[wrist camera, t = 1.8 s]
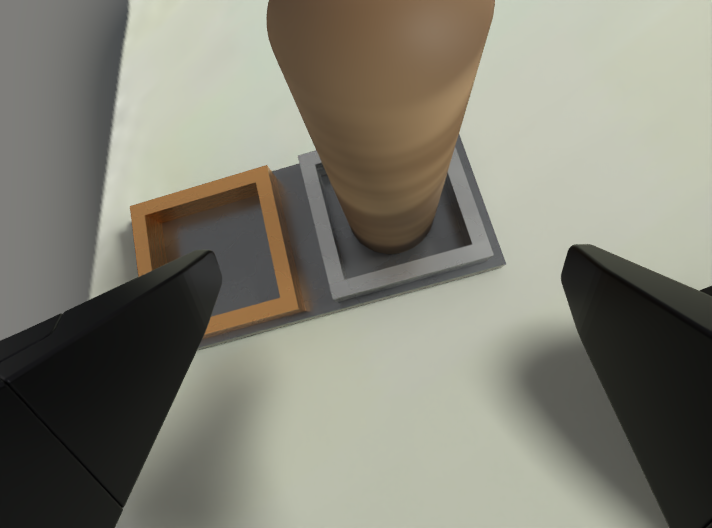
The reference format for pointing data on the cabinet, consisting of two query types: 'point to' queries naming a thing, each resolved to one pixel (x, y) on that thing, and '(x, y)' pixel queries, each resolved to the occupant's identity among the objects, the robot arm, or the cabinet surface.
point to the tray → (306, 245)
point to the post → (382, 101)
